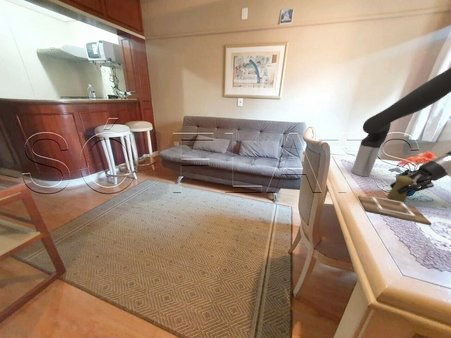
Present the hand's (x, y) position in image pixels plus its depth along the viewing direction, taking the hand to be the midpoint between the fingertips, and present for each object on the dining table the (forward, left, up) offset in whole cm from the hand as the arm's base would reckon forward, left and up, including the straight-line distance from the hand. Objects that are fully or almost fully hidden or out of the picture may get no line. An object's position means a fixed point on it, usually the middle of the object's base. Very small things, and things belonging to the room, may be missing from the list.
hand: (394, 189), depth 82 cm
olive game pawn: (0, +2, -5) cm, 5 cm away
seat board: (+12, -4, -5) cm, 13 cm away
